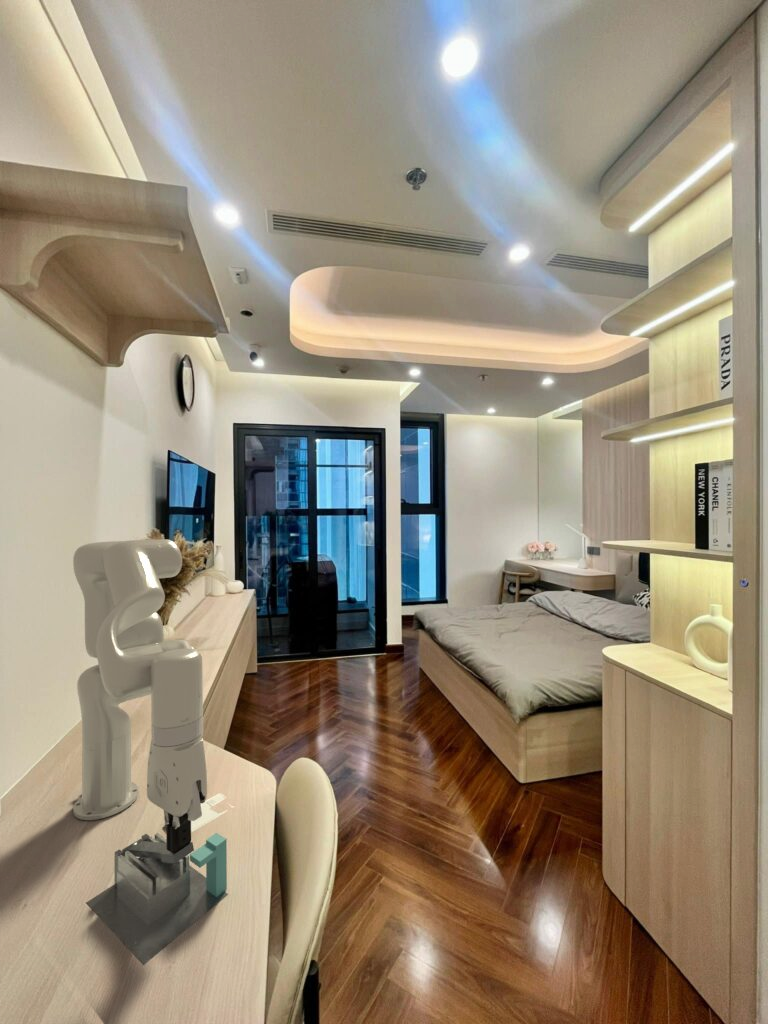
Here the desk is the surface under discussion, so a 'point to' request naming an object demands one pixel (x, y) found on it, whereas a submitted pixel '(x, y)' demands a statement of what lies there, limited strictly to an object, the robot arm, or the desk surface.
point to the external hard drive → (207, 812)
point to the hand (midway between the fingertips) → (179, 846)
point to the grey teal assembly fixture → (152, 901)
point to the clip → (213, 863)
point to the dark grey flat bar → (157, 851)
